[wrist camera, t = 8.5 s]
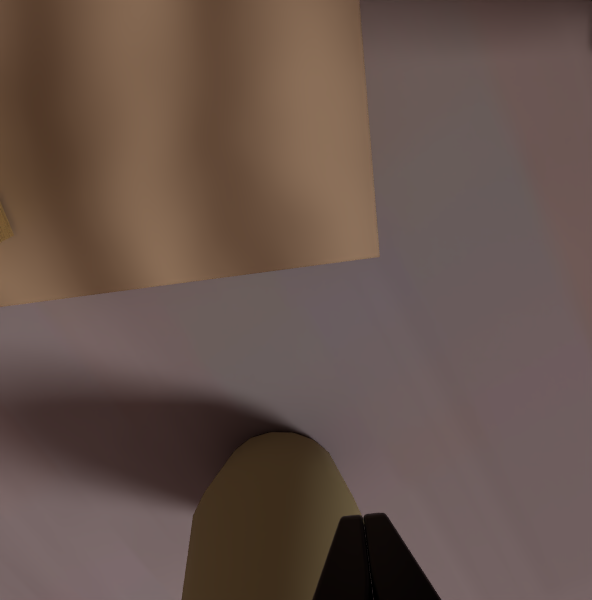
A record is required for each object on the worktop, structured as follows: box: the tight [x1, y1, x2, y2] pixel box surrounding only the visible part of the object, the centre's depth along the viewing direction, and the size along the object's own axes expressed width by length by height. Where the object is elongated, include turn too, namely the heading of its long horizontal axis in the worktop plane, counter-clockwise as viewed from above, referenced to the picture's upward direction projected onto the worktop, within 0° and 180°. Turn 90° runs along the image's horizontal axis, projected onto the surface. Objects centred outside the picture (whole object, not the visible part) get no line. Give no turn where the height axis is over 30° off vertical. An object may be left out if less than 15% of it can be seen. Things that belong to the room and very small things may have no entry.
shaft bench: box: [0, 0, 380, 307], centre depth 14 cm, size 22×12×10 cm, turn 99°
